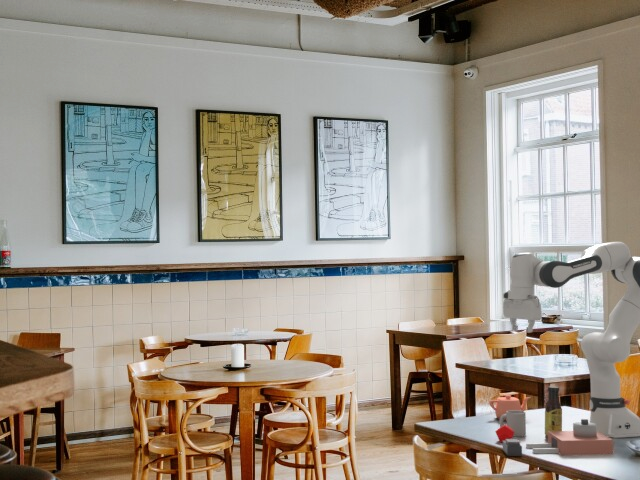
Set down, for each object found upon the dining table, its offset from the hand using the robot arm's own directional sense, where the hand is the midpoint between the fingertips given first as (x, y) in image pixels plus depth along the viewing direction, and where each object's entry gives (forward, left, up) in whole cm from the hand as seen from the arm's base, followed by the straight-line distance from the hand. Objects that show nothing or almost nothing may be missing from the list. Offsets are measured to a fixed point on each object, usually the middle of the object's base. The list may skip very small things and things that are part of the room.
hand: (522, 331), depth 313 cm
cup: (+2, -7, -41) cm, 42 cm away
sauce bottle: (-11, +3, -41) cm, 42 cm away
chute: (+10, +22, -41) cm, 48 cm away
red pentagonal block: (+8, +5, -41) cm, 42 cm away
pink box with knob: (-10, +20, -41) cm, 46 cm away
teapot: (-5, -39, -41) cm, 57 cm away
